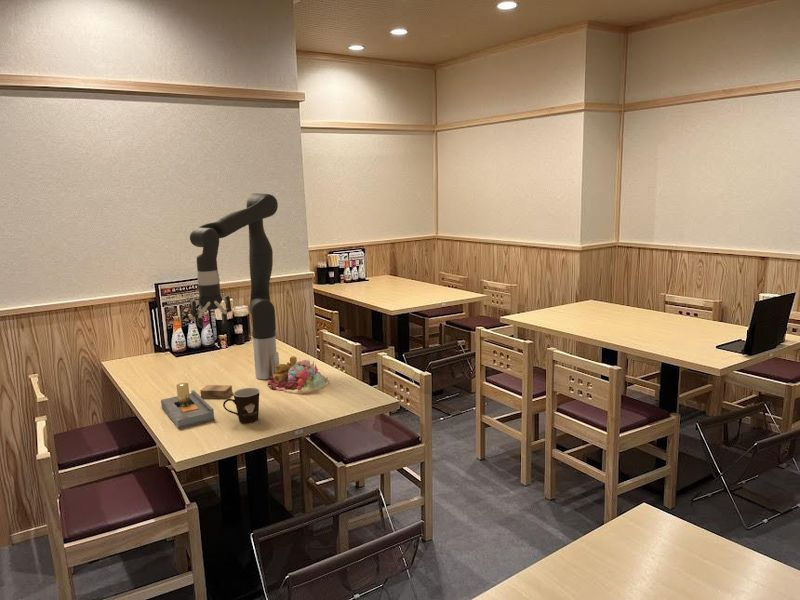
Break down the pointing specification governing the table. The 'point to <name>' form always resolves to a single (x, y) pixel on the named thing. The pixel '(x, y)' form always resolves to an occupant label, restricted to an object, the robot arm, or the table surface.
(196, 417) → the rack plate
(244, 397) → the coffee mug
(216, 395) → the brown wooden block
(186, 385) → the brass peg
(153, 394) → the table surface
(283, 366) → the candy landscape model
